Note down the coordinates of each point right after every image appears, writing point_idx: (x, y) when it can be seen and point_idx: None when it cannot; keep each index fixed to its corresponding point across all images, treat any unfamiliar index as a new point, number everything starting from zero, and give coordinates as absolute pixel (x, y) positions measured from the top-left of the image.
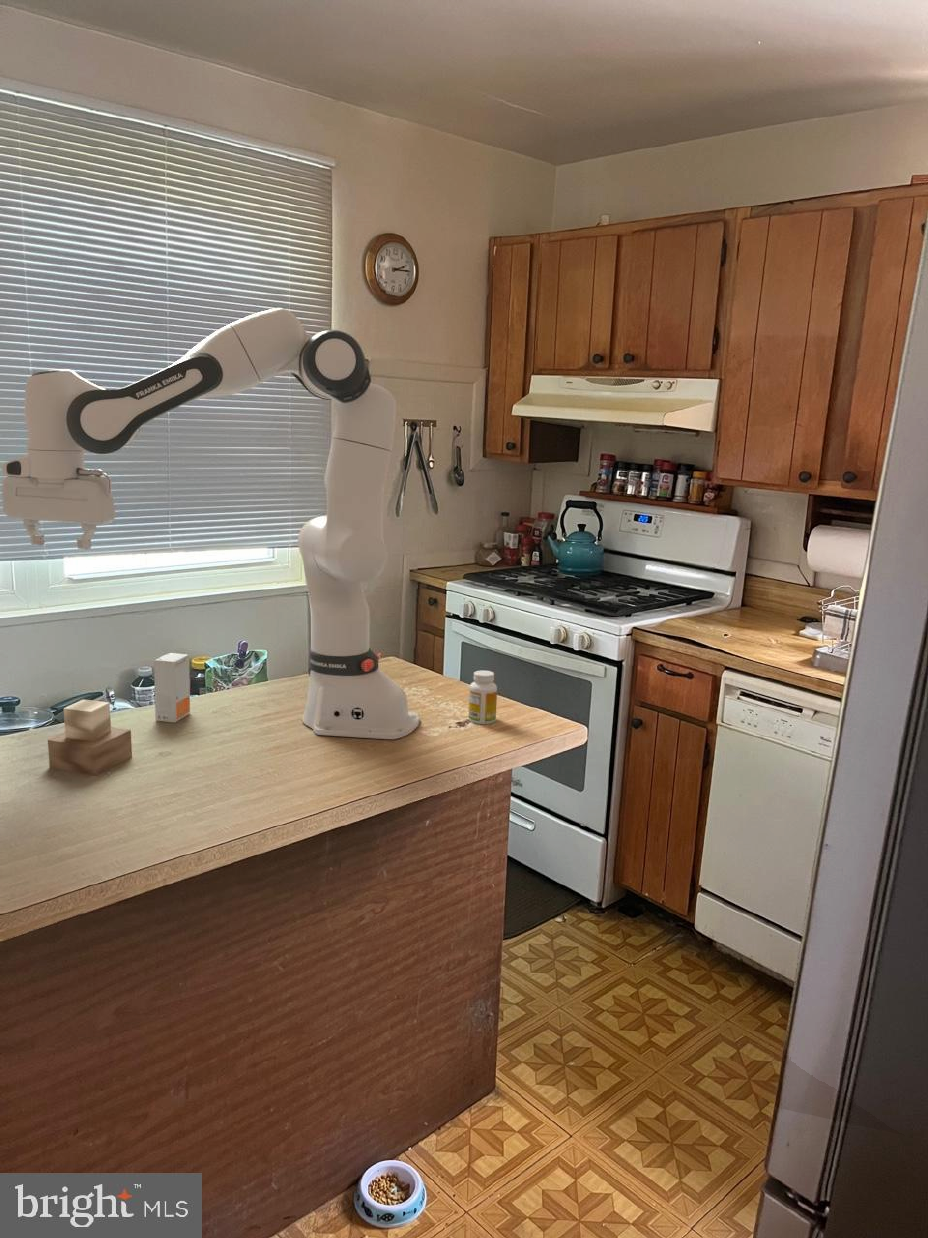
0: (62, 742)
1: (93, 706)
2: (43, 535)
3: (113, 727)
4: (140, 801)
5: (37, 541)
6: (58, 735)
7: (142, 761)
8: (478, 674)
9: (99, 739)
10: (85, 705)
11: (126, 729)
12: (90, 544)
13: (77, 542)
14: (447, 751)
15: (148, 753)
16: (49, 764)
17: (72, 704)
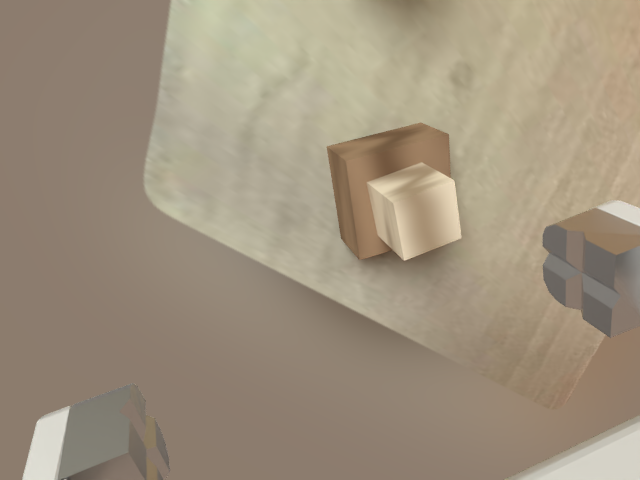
0: (390, 250)
1: (443, 216)
2: (132, 454)
3: (411, 145)
4: (534, 227)
5: (162, 475)
6: (357, 236)
7: (450, 127)
8: None
9: None
10: (426, 223)
11: (440, 137)
12: (634, 214)
13: (589, 320)
14: None
15: (435, 93)
16: (343, 240)
17: (400, 236)
